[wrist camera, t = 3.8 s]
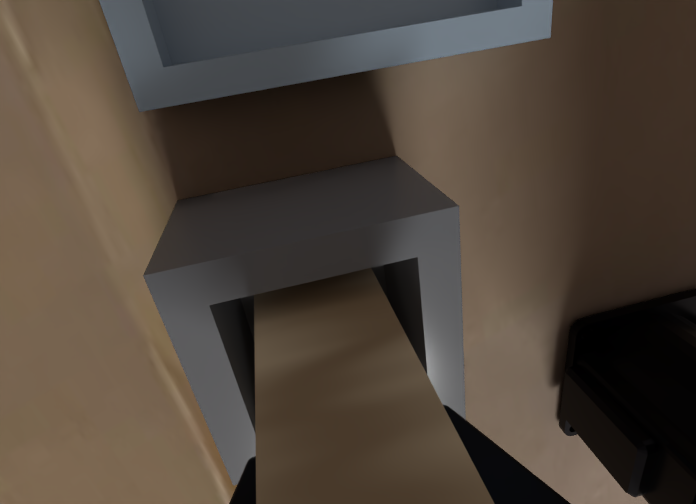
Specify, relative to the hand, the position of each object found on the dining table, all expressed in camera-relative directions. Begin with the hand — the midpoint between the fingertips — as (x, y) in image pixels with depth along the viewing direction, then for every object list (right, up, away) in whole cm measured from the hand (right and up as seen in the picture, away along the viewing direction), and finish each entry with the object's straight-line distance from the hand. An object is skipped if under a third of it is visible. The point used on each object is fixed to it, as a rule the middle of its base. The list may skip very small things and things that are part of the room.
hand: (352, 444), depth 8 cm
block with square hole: (-1, +3, +6) cm, 7 cm away
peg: (-1, +3, +5) cm, 6 cm away
